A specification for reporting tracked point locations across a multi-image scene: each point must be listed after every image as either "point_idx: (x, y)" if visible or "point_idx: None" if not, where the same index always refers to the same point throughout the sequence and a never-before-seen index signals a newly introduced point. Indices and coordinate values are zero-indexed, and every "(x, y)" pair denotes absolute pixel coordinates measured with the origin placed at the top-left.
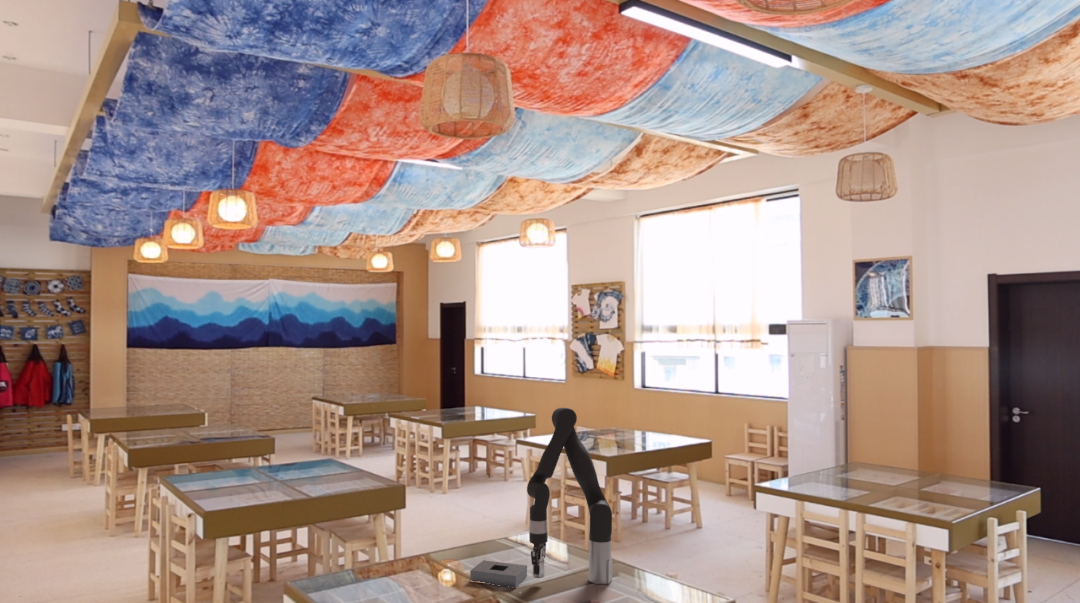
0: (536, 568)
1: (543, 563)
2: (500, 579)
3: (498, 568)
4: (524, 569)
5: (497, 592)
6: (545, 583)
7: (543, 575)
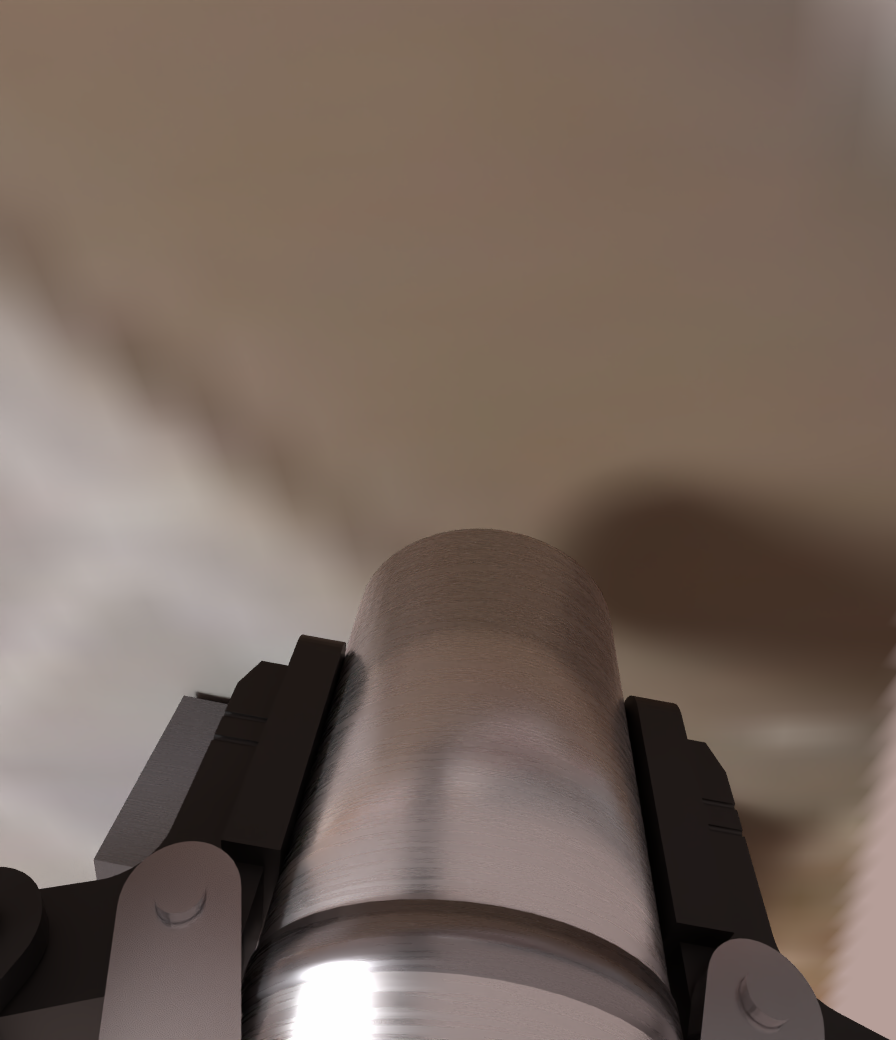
0: (743, 895)
1: (556, 859)
2: None
3: None
4: None
5: (778, 918)
6: (345, 421)
7: (547, 571)
